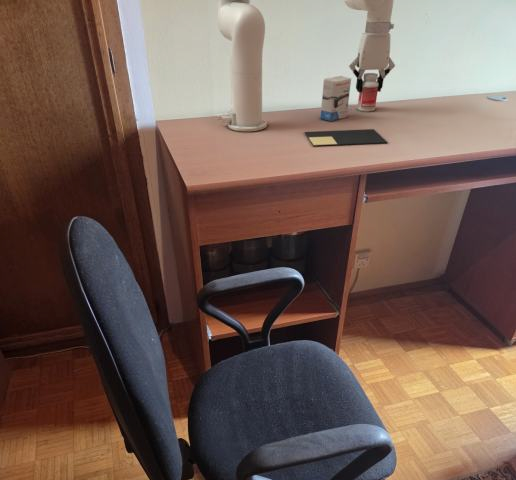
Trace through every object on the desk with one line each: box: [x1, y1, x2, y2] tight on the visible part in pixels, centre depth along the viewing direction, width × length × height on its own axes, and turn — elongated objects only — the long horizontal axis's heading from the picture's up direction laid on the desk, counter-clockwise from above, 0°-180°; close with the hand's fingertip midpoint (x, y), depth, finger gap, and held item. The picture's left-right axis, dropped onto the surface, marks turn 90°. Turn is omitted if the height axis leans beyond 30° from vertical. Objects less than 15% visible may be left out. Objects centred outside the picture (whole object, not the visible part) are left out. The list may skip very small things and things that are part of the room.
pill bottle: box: [357, 72, 379, 113], centre depth 156 cm, size 6×6×11 cm
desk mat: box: [304, 128, 388, 147], centre depth 135 cm, size 22×13×1 cm, turn 97°
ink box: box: [320, 75, 352, 122], centre depth 148 cm, size 8×5×12 cm, turn 131°
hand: (368, 90), depth 156 cm, fingers closed on pill bottle, 6 cm apart
